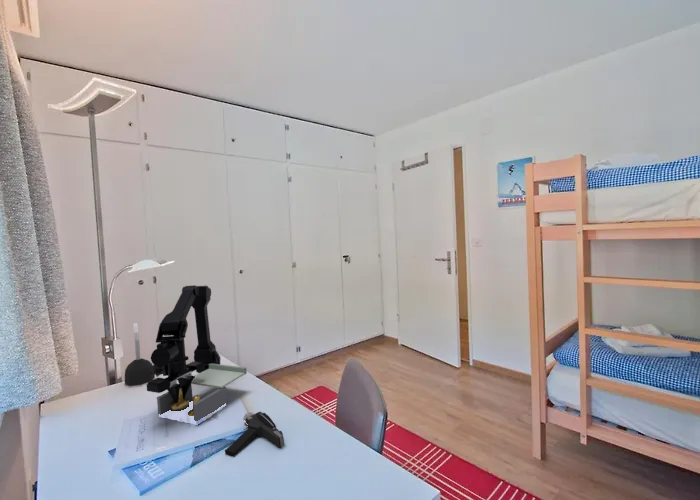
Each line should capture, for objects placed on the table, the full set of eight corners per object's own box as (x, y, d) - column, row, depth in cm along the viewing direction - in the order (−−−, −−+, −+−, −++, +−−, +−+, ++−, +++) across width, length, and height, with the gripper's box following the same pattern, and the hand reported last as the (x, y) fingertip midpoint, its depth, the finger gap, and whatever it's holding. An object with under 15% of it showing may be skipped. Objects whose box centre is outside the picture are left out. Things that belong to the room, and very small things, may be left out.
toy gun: (236, 460, 88) (288, 430, 97) (208, 425, 104) (255, 402, 113) (239, 477, 89) (290, 445, 98) (210, 440, 104) (257, 415, 114)
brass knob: (197, 410, 118) (196, 391, 118) (210, 413, 116) (209, 393, 116) (184, 419, 113) (182, 399, 113) (197, 421, 111) (195, 401, 111)
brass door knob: (180, 401, 121) (179, 383, 121) (193, 404, 119) (191, 385, 119) (166, 409, 116) (165, 390, 116) (179, 412, 114) (177, 392, 114)
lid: (211, 368, 137) (210, 363, 137) (246, 373, 131) (246, 367, 131) (184, 382, 125) (183, 376, 125) (221, 388, 119) (221, 382, 119)
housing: (190, 400, 127) (188, 381, 127) (227, 407, 121) (225, 386, 121) (158, 419, 115) (156, 397, 115) (197, 427, 109) (196, 404, 109)
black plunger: (124, 381, 149) (119, 323, 148) (153, 374, 155) (149, 318, 154) (124, 390, 140) (119, 328, 138) (156, 382, 146) (151, 323, 144)
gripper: (181, 344, 128) (184, 386, 129) (132, 363, 111) (136, 411, 112) (204, 346, 124) (207, 390, 125) (157, 366, 107) (161, 416, 108)
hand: (179, 401), depth 118 cm, fingers closed on brass door knob, 2 cm apart
